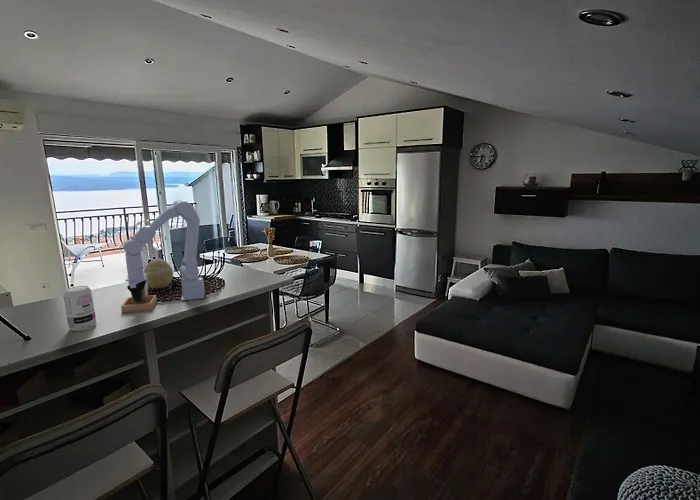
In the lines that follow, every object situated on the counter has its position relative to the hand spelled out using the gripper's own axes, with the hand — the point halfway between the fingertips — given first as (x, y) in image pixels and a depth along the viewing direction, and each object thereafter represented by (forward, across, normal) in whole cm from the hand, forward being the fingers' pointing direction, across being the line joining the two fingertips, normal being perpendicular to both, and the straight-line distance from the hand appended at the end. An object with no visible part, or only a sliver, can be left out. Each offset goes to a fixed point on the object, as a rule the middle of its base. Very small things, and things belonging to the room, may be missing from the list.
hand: (139, 299), depth 151 cm
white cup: (+4, -17, -4) cm, 18 cm away
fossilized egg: (+4, -27, +4) cm, 27 cm away
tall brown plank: (+3, 0, 0) cm, 3 cm away
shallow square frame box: (+4, 0, 0) cm, 4 cm away
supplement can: (+4, +16, -16) cm, 23 cm away
